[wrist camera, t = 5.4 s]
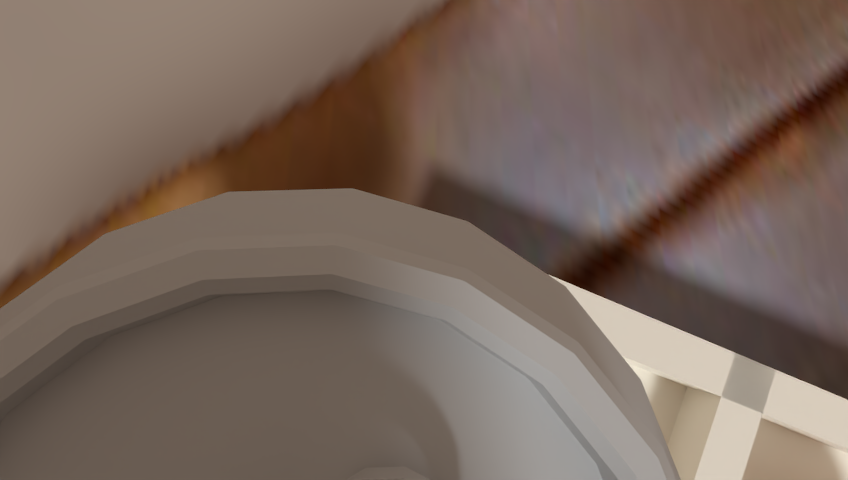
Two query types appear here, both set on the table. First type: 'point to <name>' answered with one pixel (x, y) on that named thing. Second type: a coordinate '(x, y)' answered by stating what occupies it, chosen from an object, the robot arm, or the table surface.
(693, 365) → the divider tray
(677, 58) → the table surface
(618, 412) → the can
